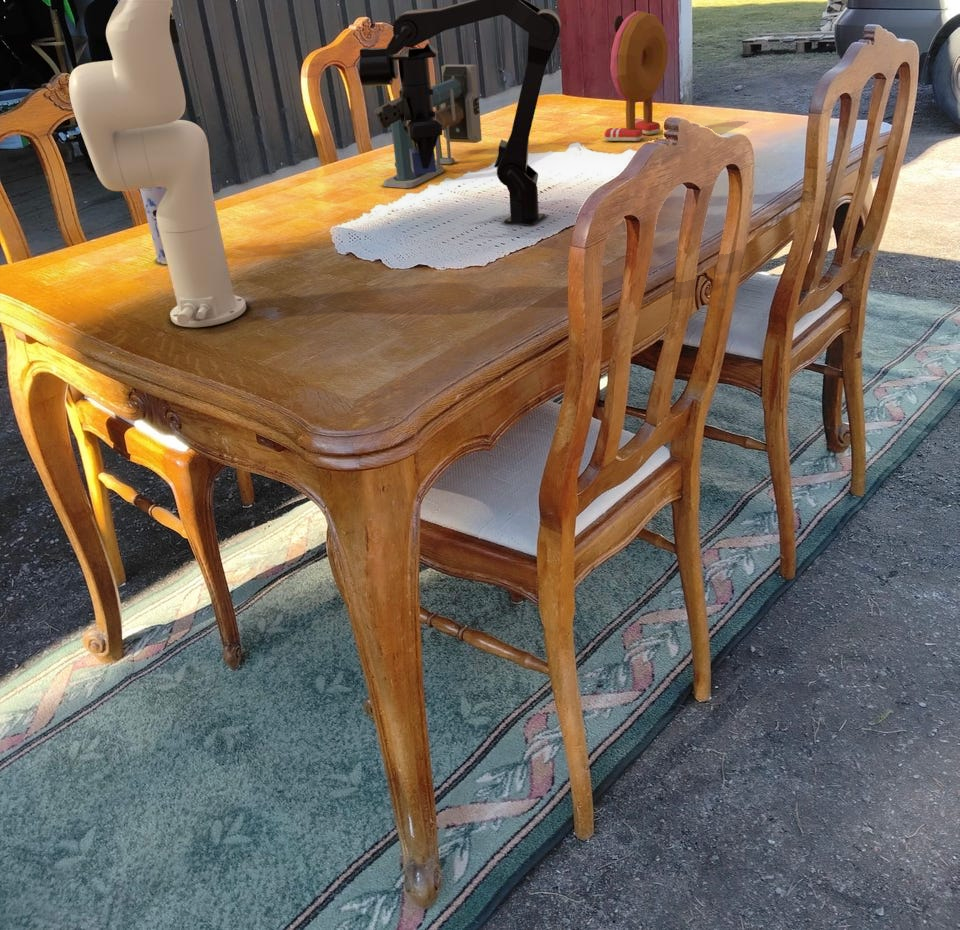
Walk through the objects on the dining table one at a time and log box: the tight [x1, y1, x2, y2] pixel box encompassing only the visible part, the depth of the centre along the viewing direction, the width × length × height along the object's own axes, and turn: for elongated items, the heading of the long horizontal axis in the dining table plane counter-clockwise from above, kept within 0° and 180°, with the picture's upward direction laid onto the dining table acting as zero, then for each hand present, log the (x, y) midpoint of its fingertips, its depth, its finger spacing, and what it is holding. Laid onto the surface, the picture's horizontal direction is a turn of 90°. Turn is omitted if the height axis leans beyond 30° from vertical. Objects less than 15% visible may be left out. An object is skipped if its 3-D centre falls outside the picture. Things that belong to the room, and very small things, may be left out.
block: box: [409, 148, 437, 175], centre depth 193 cm, size 4×4×4 cm
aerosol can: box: [139, 187, 168, 265], centre depth 188 cm, size 8×8×20 cm
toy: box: [604, 10, 669, 142], centre depth 247 cm, size 21×10×30 cm, turn 141°
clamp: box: [382, 64, 483, 189], centre depth 235 cm, size 35×9×21 cm, turn 151°
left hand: (167, 46), depth 174 cm, fingers open, 9 cm apart
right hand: (424, 165), depth 194 cm, fingers closed on block, 4 cm apart
